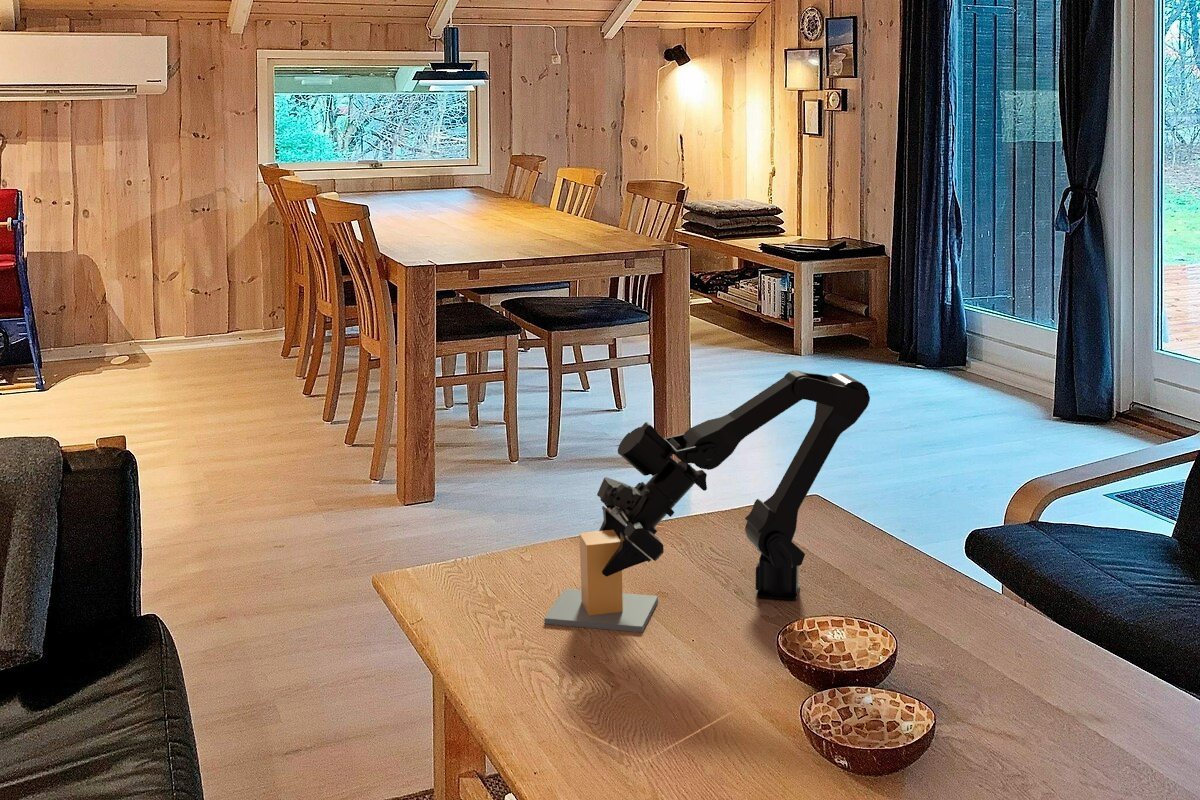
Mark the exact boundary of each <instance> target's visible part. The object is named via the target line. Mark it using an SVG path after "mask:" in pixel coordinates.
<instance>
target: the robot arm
mask: <svg viewBox="0 0 1200 800" xmlns="http://www.w3.org/2000/svg"><path fill="white" fill-rule="evenodd" d="M869 393H870V392H869V390H868V388H867V386H866V385H865V384H864V383H862V382H860V381H858V380H857V379H855V378H853V377H852V376H850V375H848V374H845V373H840V372H839V373H837V372H836V373H833V374H831V375H825V374H821V373H811V372H810V373H809V372H803V371H800V370H797V369H795V370H790V371H788V372H787V373H785V375H784V376H783V377H782V378H781V379H779V380H777V381H776V382H775V383H772V384H771V385H769V386H768V387H766V389H764V390H761V392H759V393H757V394H756V395H755V396H753V397H751V398H750V399H748V400H747V401H746V402H744V403H742V404H741V405H740V406H738V407H737V408H734V410H732V411H731V412H729V413H727V414H725V415H722V416H719V417H717V418H716V417H715V418H712V419H708V420H705V421H704V422H700V423H699V424H696V425H693V426H692V427H690V428H688V429H687V430H686V431H684V433H681V434H676V435H672V436H668V437H663V436H662V435H661V434H660V433H658V431H657V430H656V429H655V428H654V427H653V426H652V425H651V424H650V423H649V422H647V421H646V422H644V423H643V425H641V426H638V427H637V428H634V429H633V430H631V432H628V433H627V434H626V435H625V436H624V437H623V438H622V440H621V441H620V443H619V445H618V447H617V454H618V455H619V456H621V457H622V458H623V459H624V460H625V461H626V462H628V464H630V465H631V466H632V467H633V468H634V469H635V470H637V471H638V472H639V473H640V474H641V475H642V476H645V477H646V476H652V477H651V478H650V479H649V480H648V481H647V482H646V483H645V482H644V481H641V482H638V483H637V484H636V485H635V486H631V485H628V484H626V483H624V482H621V481H619V480H616V479H612V478H610V477H607V476H605V477H603V480H602V482H601V484H600V486H599V488H598V491H597V494H596V495H597V497H599V498H600V502H601V503H603V504H604V505H602V506H601V510H602V512H603V513H602V515H603V516H602V517H603V521H602V523H601V526H600V527H599V530H598V531H605V530H614V532H615V533H616V535H617V536H618V538H619V539H620V546H619V547H618V549H617V550H616V552H615V553H614V554H613V556H612V557H611V559H610V560H609V561H608V563H607V564H606V566H605V567H604V569H603V570H602V574H603V575H605V576H609V575H612V574H614V573H617V572H619V571H621V570H622V571H624V570H626V569H628V568H631V567H634V566H637V565H639V564H642V563H645V562H648V563H649V562H651V561H652V560H653V561H654V562H657V560H658V559H660V557H661V556H662V555H663V554H664V544H663V542H662V541H661V540H660V538H659V537H658V536H657V535H656V534H657V532H658V530H657V529H656V528H655V527H657V526H658V524H660V522H661V521H662V520H663V519H664V518H665V517H666V515H668V516H669V517H670V518H671V517H672V516H673V515H674V514H675V511H674V509H673V508H674V507H675V506H676V505H677V504H678V502H679V501H680V500H681V499H682V498H683V497H684V496H685V495H686V494H687V493H688V492H689V490H691V488H692V487H693V486H694V485H696V486H697V487H699V488H700V490H702V491H704V492H705V491H706V490H707V489H708V487H707V486H708V485H707V476H708V474H707V472H705V471H704V470H707V471H709V470H713V469H716V468H717V467H719V466H720V465H721V464H722V463H724V462H725V460H726V459H728V458H729V457H730V456H731V455H732V454H733V453H734V451H735V450H736V449H737V447H738V445H740V443H741V441H743V440H744V439H745V438H747V437H748V436H750V435H751V434H752V433H754V432H755V431H757V430H758V429H760V428H762V427H763V426H764V425H766V424H767V423H769V422H771V421H772V420H773V419H775V418H776V417H778V416H779V415H781V414H783V413H784V412H786V411H787V410H788V409H790V408H791V407H793V406H795V405H796V404H798V403H799V402H800V401H803V400H806V401H810V402H811V401H812V402H814V403H815V413H814V420H813V422H812V424H811V425H810V428H809V429H808V431H807V433H806V435H805V437H804V438H803V440H802V442H801V444H800V446H799V447H798V449H797V451H796V453H795V454H794V456H793V459H792V460H791V462H790V464H789V466H788V468H787V469H786V471H785V473H784V475H783V477H782V479H781V481H780V482H779V484H778V485H777V488H776V489H775V491H774V493H773V494H772V495H771V496H770V497H769V498H767V499H766V500H764V501H762V500H761V499H759V498H757V499H755V501H754V504H753V505H752V508H751V511H750V512H749V514H748V515H746V516H745V517H744V520H746V524H745V528H744V531H745V534H746V538H747V539H748V541H749V542H751V544H752V545H753V546H755V548H756V549H757V551H758V552H760V553H761V554H760V557H759V561H758V562H757V563H756V566H755V590H756V591H757V594H756V597H757V598H760V599H769V600H770V599H771V600H772V599H773V600H784V601H796V600H798V596H799V595H798V594H799V591H800V588H801V587H800V586H801V584H800V582H799V576H800V575H799V573H800V572H799V569H800V568H799V567H800V566H801V565H802V564H803V561H804V559H805V557H806V553H805V552H804V551H803V550H802V549H801V548H800V547H799V546H798V545H796V544H795V542H793V539H794V536H795V533H796V531H797V525H798V516H799V515H798V514H799V510H800V508H801V505H802V504H803V502H804V500H805V498H806V497H807V495H808V494H809V491H810V489H811V488H812V486H813V484H814V482H815V480H816V478H817V476H818V475H819V473H820V471H821V470H822V467H823V466H824V464H825V463H826V460H827V459H828V457H829V455H830V454H831V451H832V450H833V448H834V446H835V444H836V442H837V441H838V440H839V437H840V436H841V434H843V432H845V431H847V430H848V429H849V428H850V427H852V426H853V425H855V424H856V423H857V421H858V420H859V419H860V417H861V416H862V415H863V414H864V412H865V411H866V409H867V408H868V407H869V404H870V402H871V401H870V400H871V396H870V394H869ZM673 455H674V456H675V457H676V458H677V459H678V460H679V461H677V460H675V459H674V458H673V457H672V456H673ZM691 464H694V465H695V466H696V467H697V468H700V469H699V470H696V469H695V468H694V467H693V466H692V465H691Z"/></svg>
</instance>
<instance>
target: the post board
mask: <svg viewBox="0 0 1200 800" xmlns="http://www.w3.org/2000/svg"><path fill="white" fill-rule="evenodd" d="M622 599H623V612H615V613H606V614H598V615H588V613H587V611H586V609H585V607H584V605H583V603H582V598H581V589H574V588H563V590H562V592H561V593H560V595H558V598H557V599H556V601H555V602H554V603H553V605H552V606H551V608H550V609H549V611H548V612H547V613H546V615H545V616H544V619H543V621H544V625H550V626H551V625H553V626H561V627H562V626H563V627H564V626H566V627H575V628H585V629H599V630H609V631H622V632H631V633H632V632H633V633H643V632H644V630H645V628H646V626H647V624H648V622H649V620H650V618H651V616H652V614H653V612H654V610H655V608H656V606H657V605H658V602H659V596H658V595H648V594H637V593H624V592H622Z"/></svg>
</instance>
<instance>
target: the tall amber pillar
mask: <svg viewBox="0 0 1200 800" xmlns="http://www.w3.org/2000/svg"><path fill="white" fill-rule="evenodd" d="M619 546H620V539H619V538H618V536H617V535H616V533H615V532H614V530H605V531H599V530H597V531H587V532H579V557H580V559H579V562H580V590H581V598H582V603H583V605H584V607H585V609H586V611H587V613H588V615H598V614H606V613H615V612H623V599H622V593H623V570H621V571H619V572H617V573H614V574H612V575H609V576H605V575H603V574H602V570H603V569H604V567H605V566H606V564H607V563H608V561H609V560H610V559H611V557H612V556H613V554H614V553H615V552H616V550H617V549H618V547H619Z"/></svg>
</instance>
